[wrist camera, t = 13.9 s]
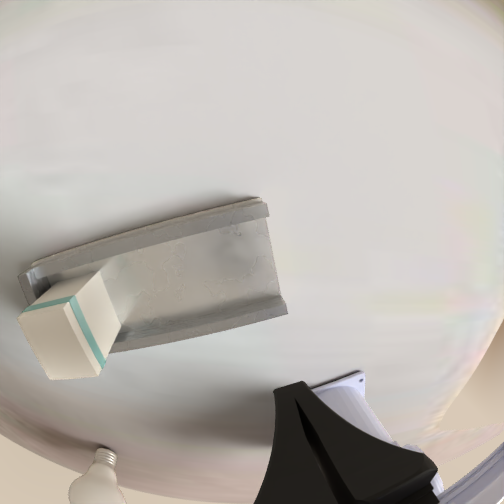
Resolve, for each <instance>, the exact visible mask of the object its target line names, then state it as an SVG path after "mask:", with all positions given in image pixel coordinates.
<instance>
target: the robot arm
mask: <svg viewBox="0 0 504 504" xmlns="http://www.w3.org/2000/svg"><path fill="white" fill-rule="evenodd" d="M364 392H365V373H364V372H363V371H360V372H357V373H355V374H352V375H350V376H347V377H345V378H342V379H339V380H337V381H334V382H331V383H329V384H326V385H323V386H320V387H317V388H314V389H310V388H309V387H308V385H307V384H306V383H305V382H304V381H300V382H297V383H294V384H290V385H287V386H284V387H280V388H277V389H275V390H274V391H273V393H274V397H275V406H276V419H275V432H274V440H273V447H272V452H271V456H270V460H269V464H268V468H267V471H266V474H265V477H264V480H263V483H262V485H261V488H260V490H259V493H258V495H257V498H256V500H255V502H254V504H499V503H500V502H501V501H502V500H503V499H504V442H503V443H502V444H501V445H500V446H499V447H498V448H497V449H496V450H495V451H494V452H493V453H491V454H490V455H489V456H488V457H487V458H486V459H485V460H484V461H482V462H481V463H480V464H479V465H478V466H477V467H475V468H474V469H473V470H472V471H471V472H469V473H468V474H467V475H466V476H464V477H463V478H462V479H460V480H459V481H458V482H456V483H455V484H454V485H452V486H451V487H449V488H448V489H446V490H444V488H443V483H442V480H441V478H440V476H439V474H438V472H437V471H438V468H437V466H436V465H435V464H434V462H433V461H432V460H431V459H430V458H429V457H427V456H426V455H425V454H424V452H423V451H422V450H421V449H420V448H419V447H418V446H416V445H410V444H406V445H405V446H403V447H402V448H401V447H400V446H399V444H398V443H397V442H396V441H394V442H393V440H392V439H391V437H390V436H389V434H388V433H387V431H386V430H385V428H384V427H383V425H382V424H381V423H380V421H379V420H378V418H377V417H376V415H375V414H374V412H373V411H372V409H371V408H370V406H369V405H368V404H367V402H366V401H365V399H364Z"/></svg>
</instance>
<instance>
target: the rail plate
mask: <svg viewBox="0 0 504 504" xmlns="http://www.w3.org/2000/svg"><path fill="white" fill-rule="evenodd" d="M266 217H269V212H268V207H267V203H265V202H262V198H260V197H259V198H255V199H250V200H246V201H242V202H237V203H233V204H229V205H225V206H220V207H216V208H212V209H208V210H204V211H200V212H196V213H192V214H189V215H185V216H181V217H177V218H173V219H170V220H166V221H162V222H159V223H155V224H151V225H148V226H144V227H141V228H137V229H134V230H130V231H127V232H124V233H120V234H117V235H113V236H110V237H107V238H104V239H100V240H97V241H94V242H91V243H88V244H84V245H81V246H78V247H75V248H72V249H69V250H66V251H63V252H60V253H57V254H54V255H51V256H48V257H46V258H43V259H40V260H37V261H35V262H33V263H32V264H31V265H32V267H31V268H29V269H28V270H26V271H25V272H23V273H22V274H20V275H19V276H18V279H19V281H20V284H21V287H22V289H23V292H24V294H25V297H26V299H27V301H28V304H29V306H31V305H32V304H33V303H34V302H35V301H36V300H37V299H38V298H39V297H41V296H42V295H43V294H44V293H45V292H46V291H48V290H49V289H50V288H51V287H52V286H53V285H55V284H56V283H57V282H60V281H63V280H67V279H71V278H74V277H78V276H81V275H85V274H89V273H92V272H96V271H100V274H101V277H102V279H103V282H104V285H105V288H106V290H107V293H108V295H109V298H110V300H111V303H112V305H113V308H114V310H115V313H116V315H117V317H118V320H119V322H120V324H121V328H120V330H119V332H118V334H117V336H116V338H115V340H114V343H113V345H112V347H111V349H110V351H109V353H108V354H110V353H116V352H122V351H128V350H134V349H139V348H145V347H150V346H155V345H161V344H166V343H171V342H176V341H180V340H185V339H190V338H194V337H199V336H203V335H208V334H212V333H216V332H220V331H225V330H229V329H233V328H237V327H241V326H245V325H249V324H252V323H256V322H260V321H264V320H268V319H271V318H275V317H278V316H282V315H286V314H288V312H287V306H286V303H285V301H284V300H283V298H282V296H281V293H280V288H279V283H278V277H277V272H276V267H275V262H274V257H273V252H272V247H271V242H270V237H269V232H268V227H267V222H266Z"/></svg>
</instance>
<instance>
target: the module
mask: <svg viewBox="0 0 504 504" xmlns="http://www.w3.org/2000/svg"><path fill="white" fill-rule="evenodd" d="M17 320H18V323H19V325H20V327H21V329H22V331H23V333H24V335H25V337H26V339H27V341H28V343H29V344H30V346H31V348H32V350H33V352H34V354H35V355H36V357H37V359H38V361H39V362H40V364H41V366H42V367H43V369H44V371H45V372H46V374H47V375H48V377H49V379H50V380H62V379H76V378H87V377H97V376H99V373H100V371H101V369H103V367H104V365H105V363H106V358H107V355H108V353H109V351H110V349H111V347H112V345H113V343H114V340H115V338H116V336H117V334H118V332H119V330H120V328H121V324H120V322H119V320H118V317H117V315H116V313H115V310H114V308H113V305H112V303H111V300H110V298H109V295H108V293H107V290H106V288H105V285H104V282H103V279H102V277H101V274H100V271H96V272H92V273H89V274H85V275H81V276H78V277H74V278H71V279H67V280H63V281H60V282H57V283H56V284H55V285H53V286H52V287H51V288H50V289H49V290H48V291H46V292H45V293H44V294H43V295H42V296H41V297H39V298H38V299H37V300H36V301H35V302H34V303H33V304H32V305H31V306H28V307H27V308H26V309H25V310H24V311H22V314H21V315H20V316H19V317H17Z"/></svg>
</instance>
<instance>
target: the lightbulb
mask: <svg viewBox="0 0 504 504" xmlns="http://www.w3.org/2000/svg"><path fill="white" fill-rule="evenodd" d="M117 458H118V457H117V455H116V454H115V453H114V452H112V451H111V450H109V449H105V448H99V449H97V450H96V454H95V457H94V461H93V464H92V465H91V466H90V467H89V469H88V471H87V472H86V473H85V474H84V475H82V476H81V477H79V478H77V479H76V480H75V481H74V482H73V483H72V484H71V486H70V488H69V501H70V504H126V501H125V498H124V496H123V494H122V492H121V490H120V489H119V487H118V485H117V477H116V474H115V468H116V462H117Z"/></svg>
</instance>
